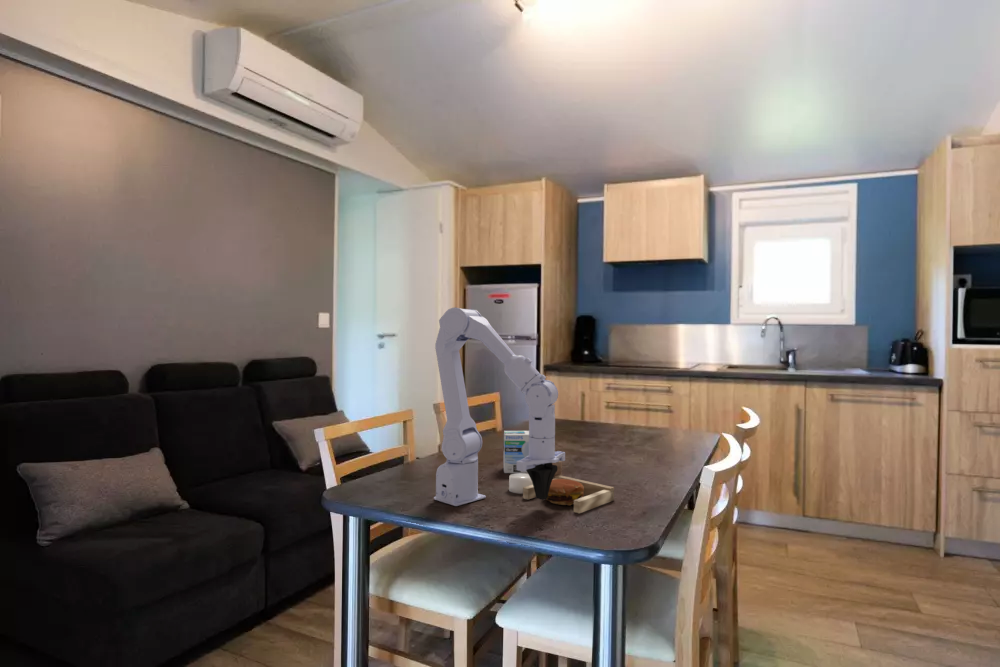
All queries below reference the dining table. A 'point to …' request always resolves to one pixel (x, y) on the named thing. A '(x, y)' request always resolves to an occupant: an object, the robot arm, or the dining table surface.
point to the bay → (592, 492)
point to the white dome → (519, 482)
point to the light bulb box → (515, 449)
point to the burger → (565, 491)
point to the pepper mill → (558, 468)
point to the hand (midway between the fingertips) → (541, 498)
